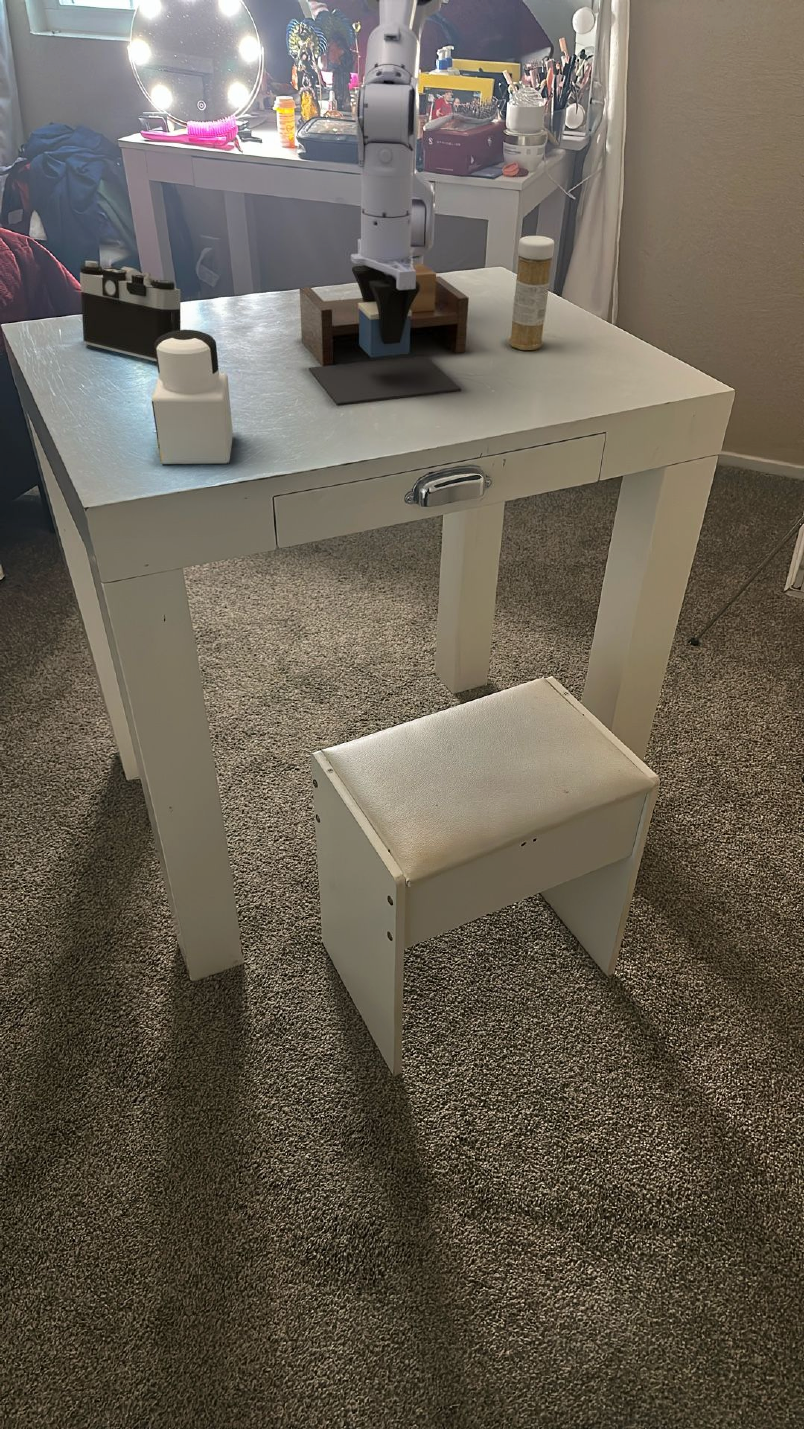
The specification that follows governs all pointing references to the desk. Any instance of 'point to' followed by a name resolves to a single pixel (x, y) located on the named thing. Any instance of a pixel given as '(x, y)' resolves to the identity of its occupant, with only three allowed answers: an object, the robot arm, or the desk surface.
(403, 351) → the blue box
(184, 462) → the medicine bottle
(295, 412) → the desk surface
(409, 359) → the mat
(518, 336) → the sprinkles bottle
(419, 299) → the tan box
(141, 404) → the desk surface
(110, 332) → the camera
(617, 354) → the desk surface
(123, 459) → the desk surface
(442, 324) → the shelf
